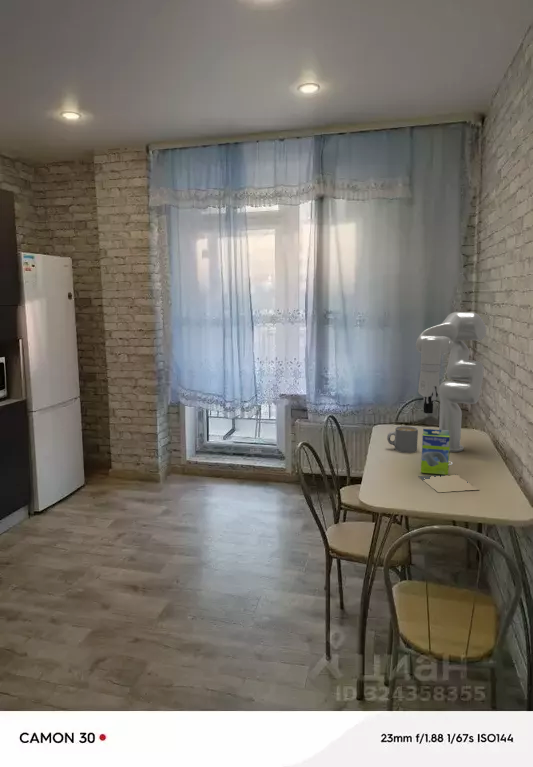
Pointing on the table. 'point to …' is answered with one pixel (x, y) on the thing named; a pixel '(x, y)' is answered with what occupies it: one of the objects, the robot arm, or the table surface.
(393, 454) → the table surface
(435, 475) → the mat
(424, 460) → the box
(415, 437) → the coffee mug
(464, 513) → the table surface
